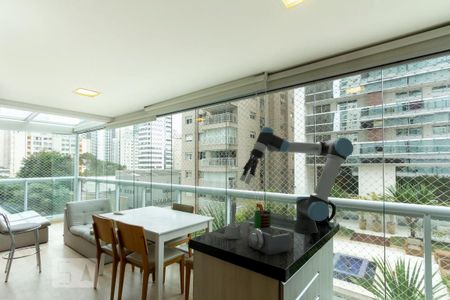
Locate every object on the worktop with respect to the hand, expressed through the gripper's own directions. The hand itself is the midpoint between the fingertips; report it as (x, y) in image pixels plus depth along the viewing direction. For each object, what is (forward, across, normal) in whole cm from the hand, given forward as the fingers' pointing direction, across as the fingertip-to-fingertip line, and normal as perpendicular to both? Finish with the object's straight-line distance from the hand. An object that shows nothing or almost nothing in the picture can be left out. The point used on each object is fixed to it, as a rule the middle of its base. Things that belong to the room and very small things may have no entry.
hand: (244, 182), depth 142 cm
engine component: (+32, -5, +6) cm, 33 cm away
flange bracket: (+26, +10, +27) cm, 39 cm away
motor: (+26, -6, +22) cm, 34 cm away
